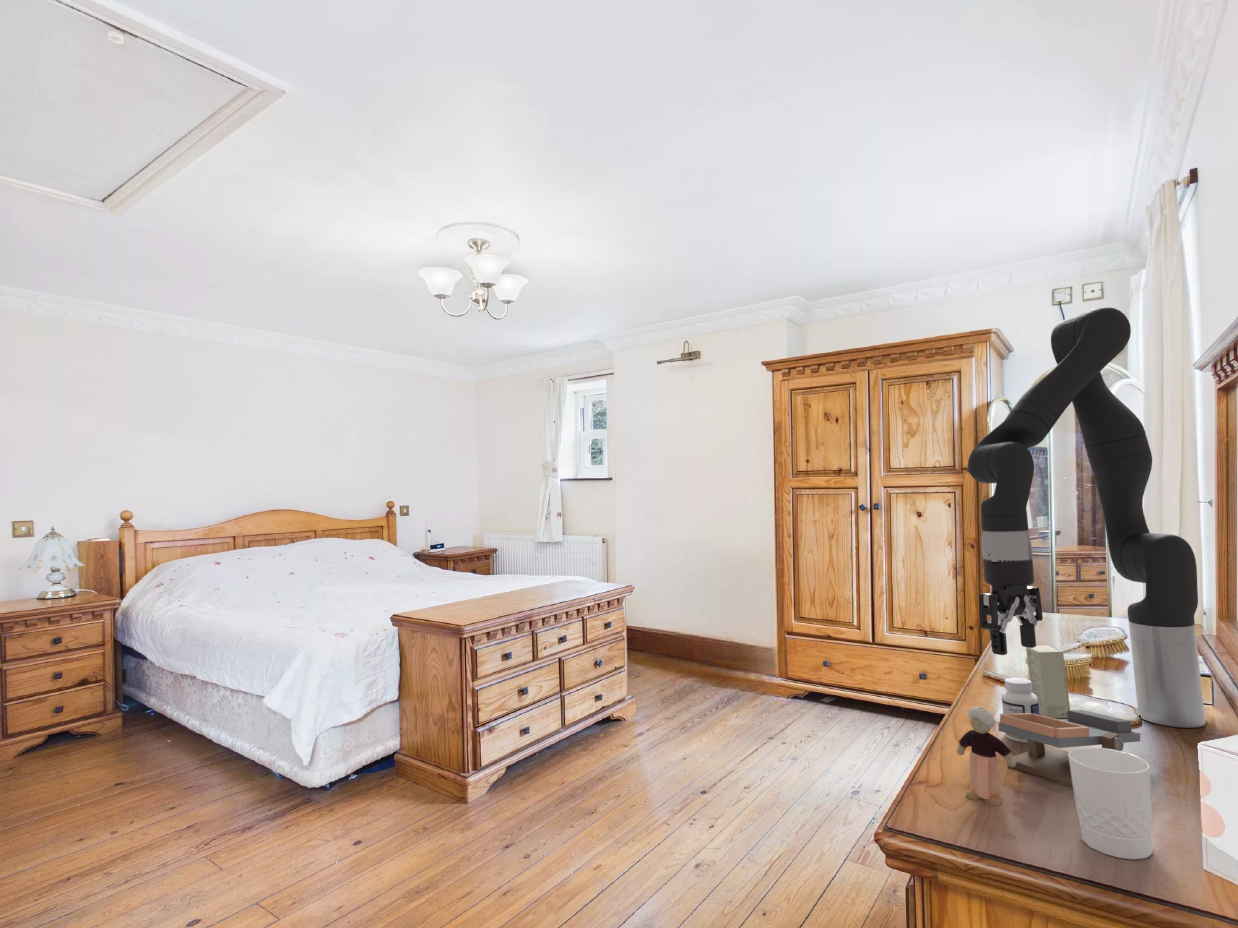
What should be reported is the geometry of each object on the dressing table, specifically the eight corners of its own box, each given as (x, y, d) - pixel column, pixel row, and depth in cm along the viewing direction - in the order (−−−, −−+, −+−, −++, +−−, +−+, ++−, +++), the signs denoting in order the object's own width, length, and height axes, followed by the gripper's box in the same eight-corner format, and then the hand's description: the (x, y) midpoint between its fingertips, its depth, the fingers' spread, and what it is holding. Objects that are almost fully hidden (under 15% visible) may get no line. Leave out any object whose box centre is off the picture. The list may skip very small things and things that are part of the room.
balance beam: (1079, 726, 106) (1079, 708, 106) (1140, 741, 98) (1140, 722, 99) (998, 730, 96) (998, 711, 96) (1058, 747, 88) (1058, 726, 89)
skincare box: (1071, 718, 119) (1065, 651, 119) (1045, 718, 120) (1038, 652, 120) (1056, 708, 125) (1050, 644, 126) (1030, 707, 126) (1024, 644, 126)
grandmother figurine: (954, 798, 91) (947, 706, 92) (961, 788, 94) (953, 699, 95) (1018, 812, 86) (1009, 715, 87) (1022, 801, 89) (1014, 707, 90)
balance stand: (1044, 750, 105) (1039, 706, 106) (1146, 780, 93) (1141, 730, 93) (1007, 765, 100) (1003, 719, 101) (1110, 799, 88) (1105, 746, 89)
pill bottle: (1031, 732, 113) (1026, 675, 114) (1048, 743, 108) (1043, 684, 109) (999, 732, 114) (994, 676, 115) (1014, 744, 109) (1009, 685, 109)
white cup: (1164, 869, 72) (1155, 777, 72) (1078, 852, 76) (1069, 765, 77) (1152, 836, 78) (1144, 752, 79) (1073, 823, 83) (1066, 743, 83)
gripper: (1009, 552, 120) (1016, 641, 119) (961, 558, 113) (968, 652, 112) (1052, 554, 113) (1060, 648, 112) (1004, 561, 106) (1012, 660, 105)
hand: (1014, 650), depth 112 cm, fingers open, 8 cm apart
